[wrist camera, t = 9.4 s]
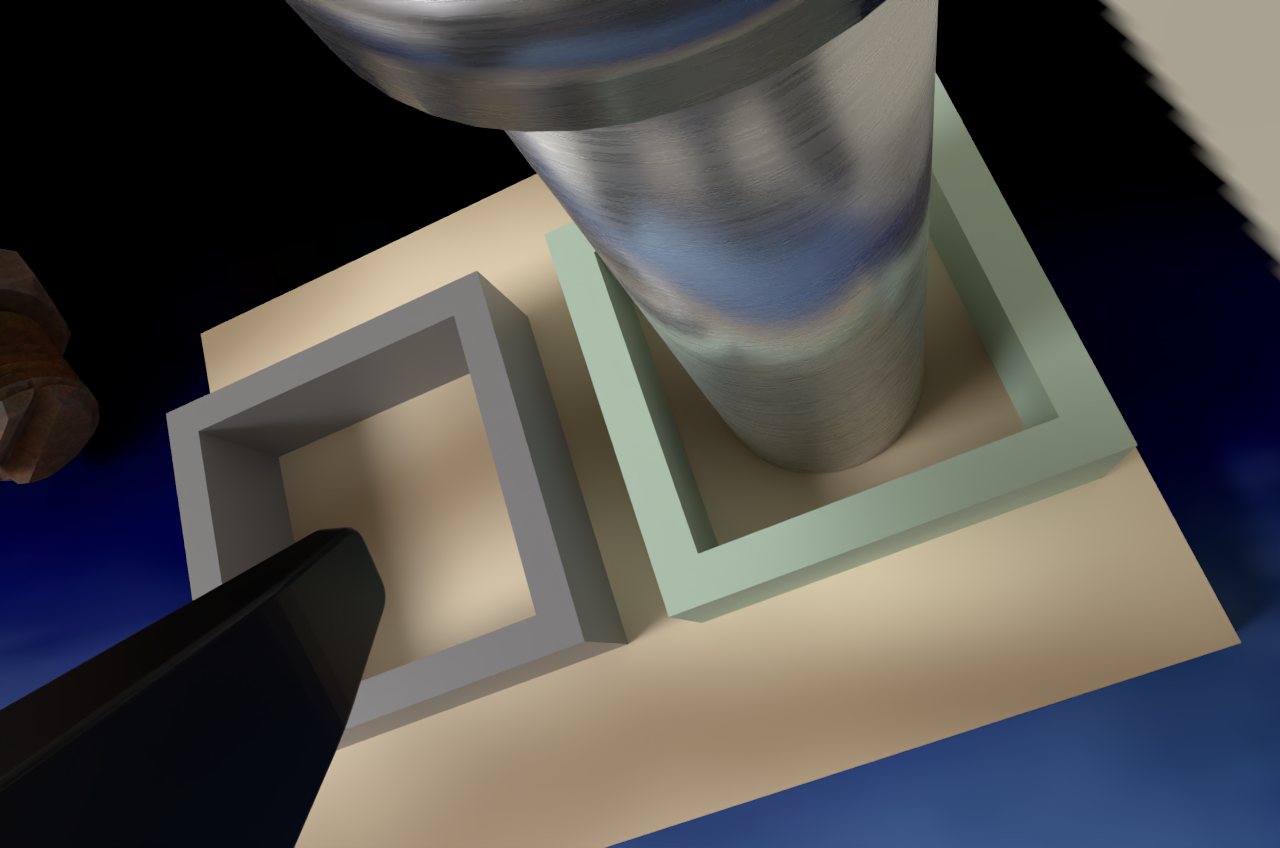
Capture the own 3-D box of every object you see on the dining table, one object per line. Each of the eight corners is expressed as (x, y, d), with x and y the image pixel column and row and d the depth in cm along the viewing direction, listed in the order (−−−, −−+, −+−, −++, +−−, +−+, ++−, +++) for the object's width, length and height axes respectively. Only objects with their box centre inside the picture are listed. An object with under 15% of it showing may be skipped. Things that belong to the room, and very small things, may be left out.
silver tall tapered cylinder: (974, 493, 16) (1231, -252, 3) (693, 515, 17) (54, 62, 4) (940, 232, 17) (1017, -1026, 4) (682, 272, 19) (176, -603, 6)
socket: (1103, 477, 16) (1137, 444, 13) (702, 623, 17) (668, 616, 15) (925, 135, 18) (927, 57, 16) (588, 285, 19) (544, 234, 17)
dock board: (1221, 644, 15) (1241, 642, 14) (330, 931, 18) (300, 945, 18) (895, 34, 20) (895, 3, 19) (229, 347, 23) (200, 333, 22)
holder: (628, 644, 17) (584, 641, 15) (304, 762, 18) (217, 776, 16) (528, 316, 20) (476, 270, 17) (248, 441, 21) (165, 413, 19)
